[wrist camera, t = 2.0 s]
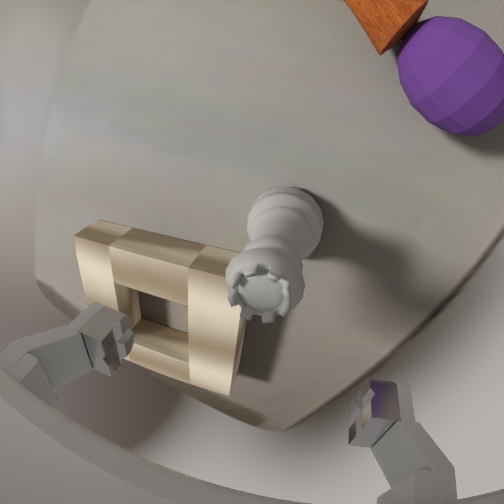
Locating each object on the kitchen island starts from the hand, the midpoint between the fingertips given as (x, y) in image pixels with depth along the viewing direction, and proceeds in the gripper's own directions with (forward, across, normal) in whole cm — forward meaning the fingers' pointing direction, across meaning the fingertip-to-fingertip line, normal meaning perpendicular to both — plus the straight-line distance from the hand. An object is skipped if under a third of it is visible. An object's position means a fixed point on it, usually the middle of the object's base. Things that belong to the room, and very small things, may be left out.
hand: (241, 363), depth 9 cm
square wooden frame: (+11, +8, +8) cm, 16 cm away
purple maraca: (+11, -1, -15) cm, 18 cm away
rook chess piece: (+11, 0, -1) cm, 11 cm away
